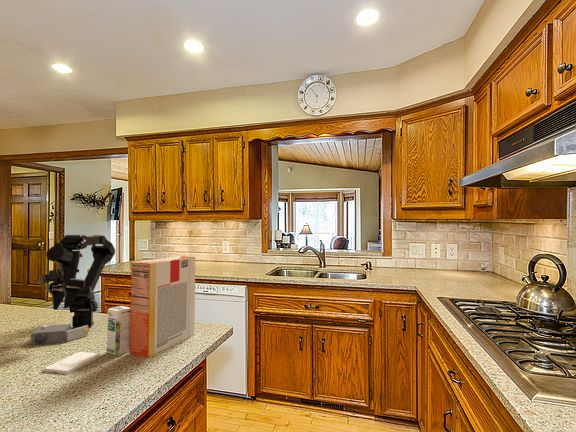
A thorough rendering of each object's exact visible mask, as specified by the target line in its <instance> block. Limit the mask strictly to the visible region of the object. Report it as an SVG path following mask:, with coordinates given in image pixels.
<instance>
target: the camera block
mask: <svg viewBox="0 0 576 432" xmlns="http://www.w3.org/2000/svg"><path fill="white" fill-rule="evenodd" d="M68 330H72V324H70V323H69V324H59V325H58V324H57V325H56V324H55V325H41V326H39V327H38V328H36V329H35V330H34V331H32V332H30V333H31V334H30V346H36V345H44V344H55V343H56V344H58V343H65V342H64V331H68Z"/></svg>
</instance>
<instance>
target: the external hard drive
mask: <svg viewBox="0 0 576 432" xmlns="http://www.w3.org/2000/svg"><path fill="white" fill-rule="evenodd" d="M99 358H101V354H100V353H97V352H88V351H87V352H86V351H77V352H76V353H72V354H71V355H69V356H67V357H64V358H63V359H61V360H59V361H57V362H55V363H53V364H51V365H47V366H46V367H44V368H42V371H43V372H45V373H57V374H61V375H68V374H70V373H72V372H74V371H76V370H78V369H80V368H81V367H83V366H85V365H87V364H89V363H91V362H93V361H95V360H97V359H99Z"/></svg>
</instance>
